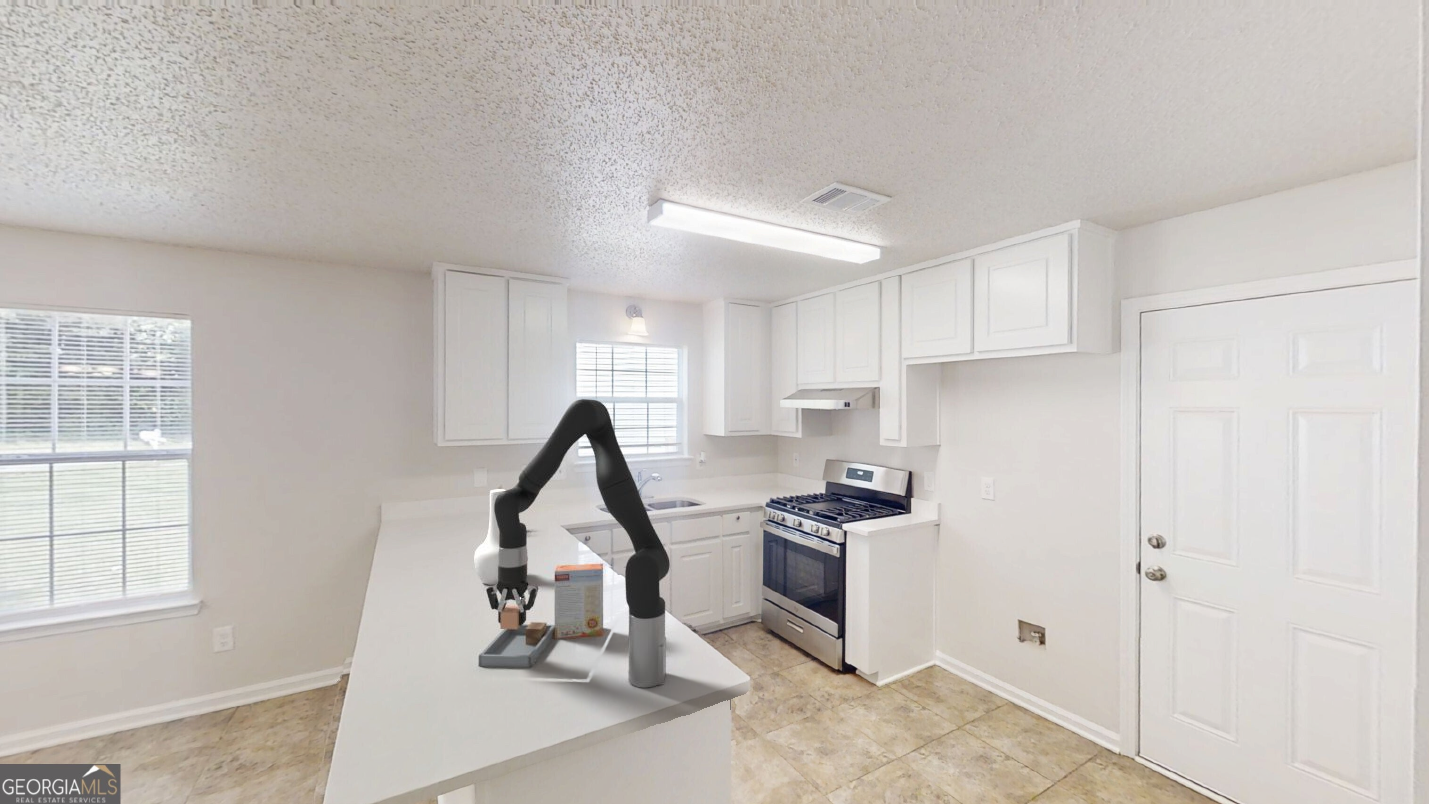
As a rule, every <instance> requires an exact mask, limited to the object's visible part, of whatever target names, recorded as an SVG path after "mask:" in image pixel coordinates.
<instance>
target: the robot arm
mask: <svg viewBox="0 0 1429 804" xmlns="http://www.w3.org/2000/svg"><path fill="white" fill-rule="evenodd" d="M584 436H586V438H587V440H588V442H589V444H590V446H591V448H592V452H593V454H594V455H593V456H594V458H595V477H596V483H597V487H598V490H599V492H600V496H601V499H602V500H603V503H604V505H605V507H606V509H607V511H608V512H609V513H610V515H611V516H612V517H613V518H614V519H615V520H616V522H617V523H618V524H619V525H620V526H621V527H622V528H623V529H624V530H625V532H626V533H627V535H628V536H629V537H628V538H629V539H630V541H631V544H632V547H633V549H634V552H635V553H633V554H632V555H631V556H630V557H629V558H628V559H627V562H626V566H625V572H624V580H625V600H626V604H627V606H628V670H627V672H628V682H629V683H630V684H631V686H634V687H638V688H654V687H656V686H660V685H662V686H663V685H664V683H665V679H666V678H665V677H666V674H667V636H666V601H665V599H664V598H663V597H661V593H660V581H661V580H663V579H664V578H665V577H666V576H667V574H668V573H669V571H670V567H671V564H670V558H669V555H668V553H667V551H666V549H665V546H664V545H663V543H662V541H661V539H660V538H659V537H660V536H659V535H658V533H657V532H656V529H655V528H654V526H653V524H652V522H651V518H650V517H649V514H648V511H647V510H646V509H647V508H646V507H645V504H644V502H643V499H642V498H641V495H640V492H639V490H638V486H637V484H636V481H635V479H634V477H633V475H632V472H631V470H630V469H629V466H628V463H627V460H626V459H625V456H624V455H623V452H622V449H621V447H620V445H619V443H618V442H619V441H618V439H617V436H616V433H615V429H614V425H613V422H612V418H611V416H610V413H609V410H608V408H607V406H605V404H603V403H602V402H601V401H599V400H596V399H585V398H581V399H577V400H575V401H573V402H572V403H571V404H570V405H569V406H568V408H567V409H566V411H565V412H564V413H563V415H562V417H561V418H560V420H559V422H558V424H557V426H556V427H555V428H554V430H553V432H552V433H551V435H550V436H549V438H548V440H547V441H546V442H545V444H543V446H542V447H541V449H540V450H539V451H538V453H537V454H535V456H534V457H533V458H532V460H531V461H530V462H529V463H528V464H527V465H526V467H524V469H523V470H522V471H521V473H520V474H519V476H518V482H517V484H516V485H514V487H512V488H509V489H505V490H506V491H503V492H501V493H500V494H499V495H498V496H497V498H496V500H495V504H494V512H495V517H496V521H497V525H498V528H499V552H498V583H497V585H489V586H488V587H487V588H486V590H485V591H486V594H487V598H488V601H489V604H490V605H489V606H490V608H491V610H497V612H498V614H497V615H498V616H497V622H498V624H500V625H499V626H501V611H502V610H504V609H505V608H506V607H507V603H508V602H509V601H510V600H512V601H515V603H516V606H518V608H519V611H520V612H519V626H522V625H523V624H525V622H526V621H527V611H530V610H531V609H532V608H533V607H534V605H535V602H536V598H537V595H538V591H539V587H538V585H536V586H533V585H529V582H528V559H529V557H528V556H529V555H528V546H527V543H528V542H527V538H528V537H527V534H528V532H527V531H528V529H527V526H526V524H525V523H524V522H521V520H520V514H521V513H523V512H525V511H526V510H528V509H529V508H530V507H531V506H532V505H533V503H534V502H535V501H536V498H537V497H538V496H539V494H540V491H541V490H542V489H543V488H544V487H545V486H546V485H547V483H549V481H551V479H552V478H553V476H554V475H556V473H557V471H558V470H559V468H560V467H561V464H562V462H563V461H564V459H565V456H566V454H567V453H568V451H569V450H570V449H571V447H572V446H573V445H574V444H576V442H577V441H578V440H580V439H581V438H582V437H584ZM526 591H528V593H527V594H528V595H529V596H528V600H527V601H526V595H525V593H526ZM497 592H499V594H500V599H499V598H498V594H497Z"/></svg>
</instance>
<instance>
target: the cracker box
mask: <svg viewBox="0 0 1429 804" xmlns="http://www.w3.org/2000/svg"><path fill="white" fill-rule="evenodd" d="M554 625H555V635H554V639H571V638H573V639H574V638H586V637H587V638H588V637H589V638H591V637H601V636H602V637H603V634H604V564H603V563H585V564H567V565H566V564H565V565H556V568H555V571H554Z"/></svg>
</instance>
